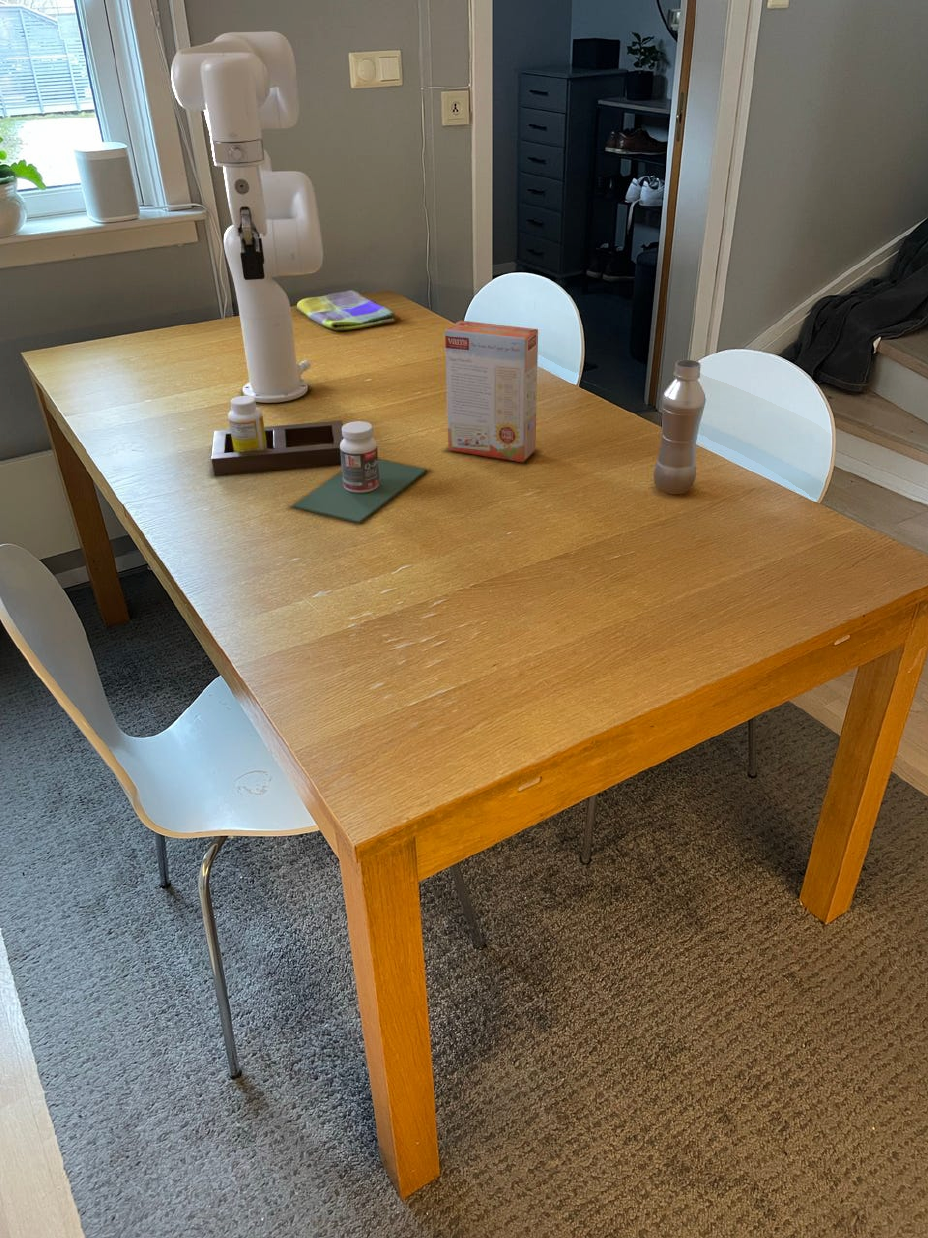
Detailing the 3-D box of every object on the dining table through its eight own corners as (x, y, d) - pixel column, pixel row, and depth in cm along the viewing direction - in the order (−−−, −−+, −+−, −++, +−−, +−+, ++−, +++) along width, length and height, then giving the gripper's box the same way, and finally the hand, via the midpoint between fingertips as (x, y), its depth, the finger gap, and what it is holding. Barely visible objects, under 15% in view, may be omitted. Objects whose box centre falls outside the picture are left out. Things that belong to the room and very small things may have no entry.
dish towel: (328, 334, 214) (327, 322, 212) (294, 308, 232) (293, 297, 230) (398, 323, 220) (397, 311, 219) (359, 299, 238) (358, 287, 237)
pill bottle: (374, 495, 144) (369, 435, 138) (338, 492, 145) (333, 432, 139) (384, 479, 148) (379, 420, 143) (349, 477, 149) (344, 418, 144)
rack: (217, 446, 161) (214, 430, 160) (343, 435, 164) (342, 419, 163) (214, 475, 151) (211, 458, 150) (349, 463, 154) (347, 447, 153)
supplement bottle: (254, 448, 160) (245, 391, 155) (275, 456, 157) (267, 398, 152) (228, 458, 157) (218, 400, 151) (249, 467, 154) (240, 408, 148)
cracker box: (536, 450, 158) (540, 327, 146) (523, 464, 153) (526, 338, 141) (462, 438, 163) (459, 317, 151) (447, 451, 158) (443, 327, 146)
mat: (364, 458, 156) (364, 456, 156) (426, 471, 151) (426, 469, 151) (293, 507, 142) (293, 505, 141) (359, 523, 137) (359, 521, 137)
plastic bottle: (696, 483, 146) (713, 358, 135) (690, 501, 141) (708, 373, 130) (655, 477, 148) (669, 354, 137) (648, 496, 143) (661, 369, 132)
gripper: (263, 160, 132) (279, 283, 142) (263, 144, 147) (277, 257, 156) (210, 162, 131) (229, 286, 141) (215, 146, 146) (232, 260, 155)
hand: (254, 271), depth 149 cm, fingers open, 9 cm apart
